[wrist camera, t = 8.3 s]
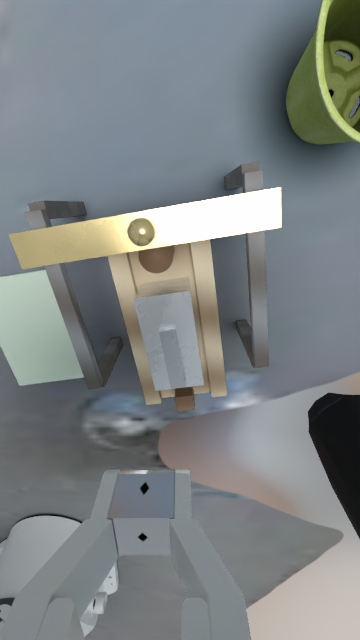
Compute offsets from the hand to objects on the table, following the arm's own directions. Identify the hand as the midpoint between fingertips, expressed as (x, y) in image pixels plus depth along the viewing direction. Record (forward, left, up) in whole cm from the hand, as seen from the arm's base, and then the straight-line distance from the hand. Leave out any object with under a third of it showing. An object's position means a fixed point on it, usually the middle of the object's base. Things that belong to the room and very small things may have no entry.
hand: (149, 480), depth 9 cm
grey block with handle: (-1, 0, -15) cm, 15 cm away
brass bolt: (+8, 0, -10) cm, 13 cm away
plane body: (+1, 0, -18) cm, 18 cm away
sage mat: (-1, +14, -18) cm, 23 cm away
